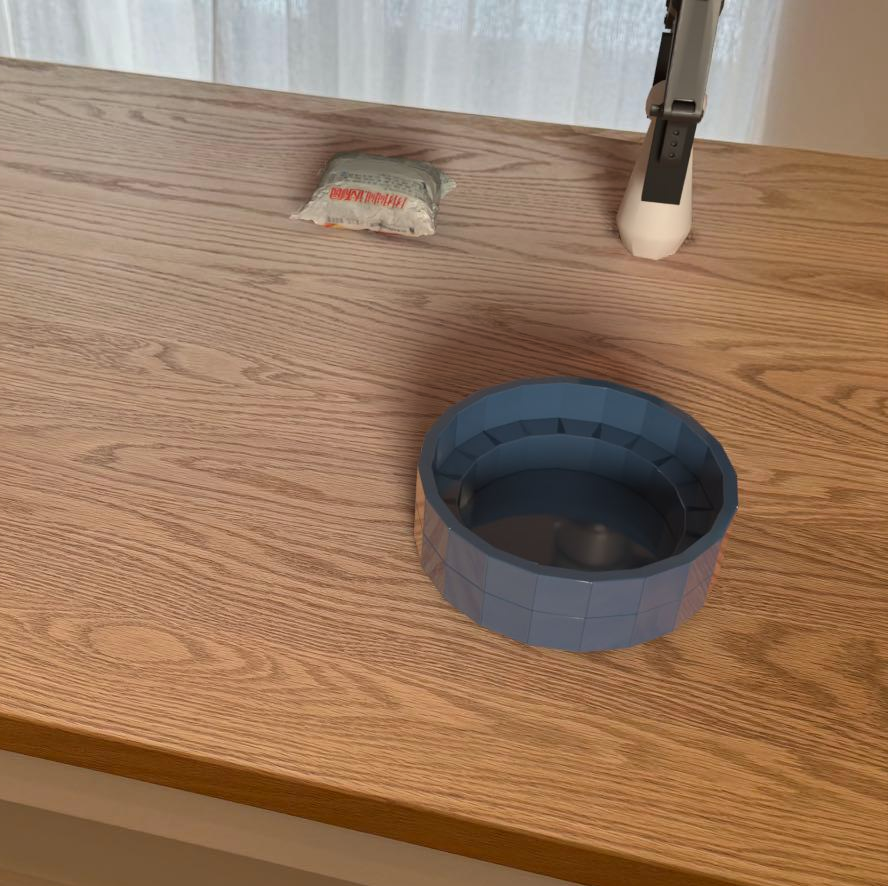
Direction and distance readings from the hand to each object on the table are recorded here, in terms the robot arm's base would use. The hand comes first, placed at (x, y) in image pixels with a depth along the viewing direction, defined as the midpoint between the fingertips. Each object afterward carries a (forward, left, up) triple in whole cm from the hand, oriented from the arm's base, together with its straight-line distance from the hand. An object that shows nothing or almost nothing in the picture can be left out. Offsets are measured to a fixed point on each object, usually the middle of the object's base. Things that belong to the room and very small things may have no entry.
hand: (662, 157), depth 93 cm
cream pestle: (0, 0, -8) cm, 8 cm away
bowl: (+4, +36, -8) cm, 37 cm away
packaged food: (+22, +1, -8) cm, 23 cm away
